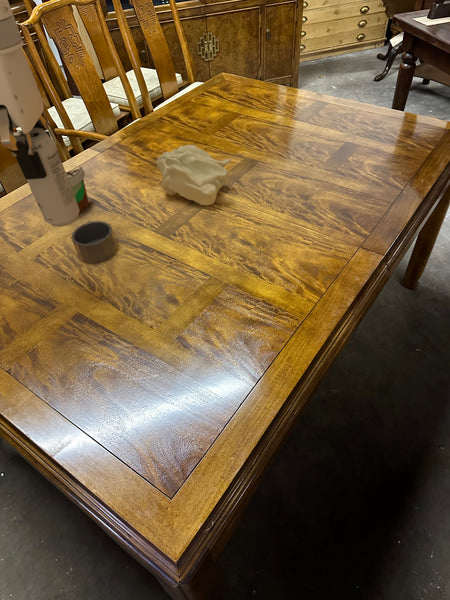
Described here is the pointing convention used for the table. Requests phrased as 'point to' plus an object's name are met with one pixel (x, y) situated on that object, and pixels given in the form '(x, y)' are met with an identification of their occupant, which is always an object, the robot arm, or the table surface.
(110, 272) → the table surface
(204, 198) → the folded clay sculpture
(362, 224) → the table surface
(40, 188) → the energy drink can
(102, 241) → the can holder
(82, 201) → the food container
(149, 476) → the table surface
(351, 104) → the table surface
